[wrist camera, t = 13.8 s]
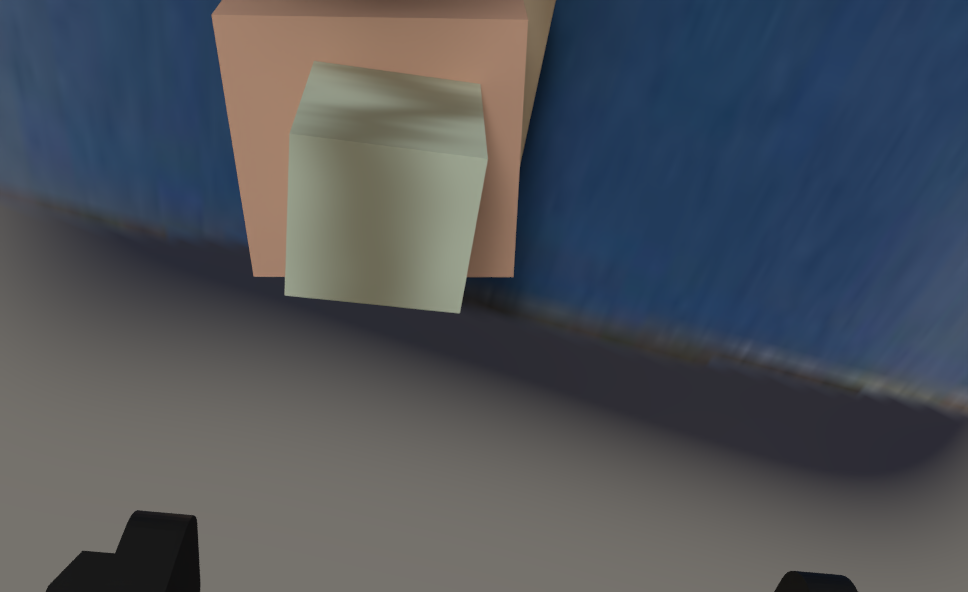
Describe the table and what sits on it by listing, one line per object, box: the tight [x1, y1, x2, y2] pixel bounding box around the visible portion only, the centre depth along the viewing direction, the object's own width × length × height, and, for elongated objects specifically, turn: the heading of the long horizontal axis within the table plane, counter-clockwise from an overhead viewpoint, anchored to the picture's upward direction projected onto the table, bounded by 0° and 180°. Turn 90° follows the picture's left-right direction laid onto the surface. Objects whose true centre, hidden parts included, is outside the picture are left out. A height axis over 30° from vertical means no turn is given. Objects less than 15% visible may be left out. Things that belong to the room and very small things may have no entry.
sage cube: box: [285, 61, 488, 313], centre depth 27 cm, size 6×6×6 cm
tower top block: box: [212, 0, 528, 277], centre depth 31 cm, size 10×10×4 cm
